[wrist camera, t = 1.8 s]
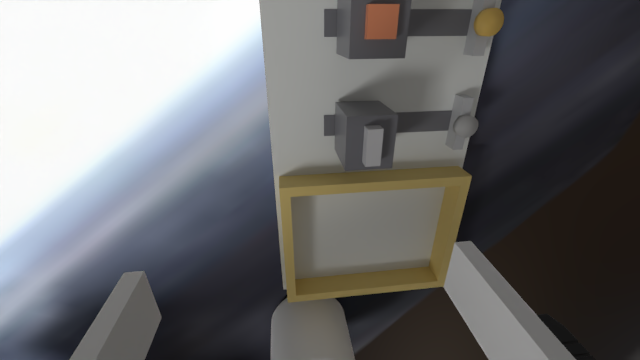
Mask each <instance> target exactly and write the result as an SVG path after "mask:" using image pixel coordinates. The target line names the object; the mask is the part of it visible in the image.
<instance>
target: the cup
mask: <svg viewBox="0 0 640 360" xmlns="http://www.w3.org/2000/svg"><path fill="white" fill-rule="evenodd" d="M271 360H355V358H354V353H353V349H352V345H351V341H350V336H349V332H348V328H347V323H346V319H345V315H344V311H343V308H342V306H341V304H340V303H339V302H338V301H337V300H336V299H335V298H329V299H319V300H309V301H300V302H290V303H288V300H287V298H286V299H285V300H283V301H282V302H281V303H280V304H279V305H278V306H277V308H276V309H275V311H274V313H273V316H272V320H271Z"/></svg>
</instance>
